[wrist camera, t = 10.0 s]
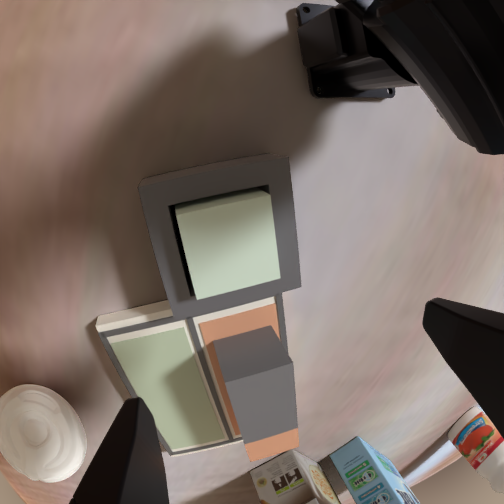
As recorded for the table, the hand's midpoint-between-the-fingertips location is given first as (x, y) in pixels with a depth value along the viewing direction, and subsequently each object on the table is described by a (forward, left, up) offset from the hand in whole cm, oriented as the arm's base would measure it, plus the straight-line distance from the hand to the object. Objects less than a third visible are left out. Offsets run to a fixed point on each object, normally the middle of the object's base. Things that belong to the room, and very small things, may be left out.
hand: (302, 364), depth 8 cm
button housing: (0, 0, -12) cm, 12 cm away
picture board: (+3, +12, -12) cm, 17 cm away
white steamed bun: (+18, +11, -12) cm, 24 cm away
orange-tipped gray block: (0, +12, -11) cm, 16 cm away
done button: (0, 0, -10) cm, 10 cm away
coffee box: (-2, +32, -12) cm, 34 cm away
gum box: (-14, +40, -12) cm, 44 cm away
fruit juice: (-42, +53, -12) cm, 68 cm away
